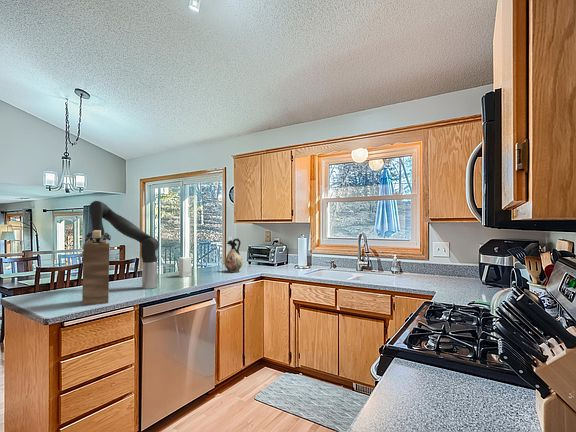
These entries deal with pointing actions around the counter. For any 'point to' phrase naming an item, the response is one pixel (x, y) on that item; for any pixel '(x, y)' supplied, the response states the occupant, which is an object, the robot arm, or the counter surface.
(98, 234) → the beech bar
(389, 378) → the counter surface
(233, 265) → the ceramic jug
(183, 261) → the skincare box
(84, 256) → the walnut stand
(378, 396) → the counter surface
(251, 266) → the counter surface
